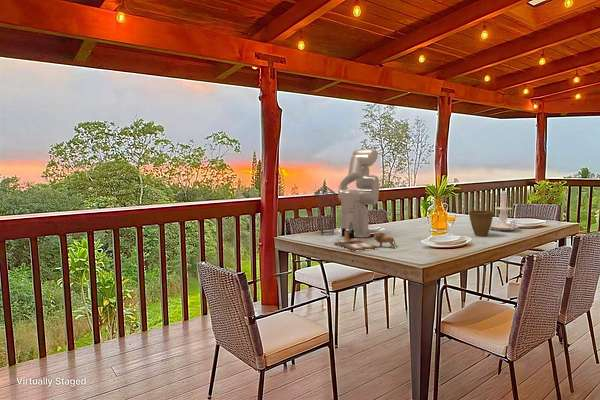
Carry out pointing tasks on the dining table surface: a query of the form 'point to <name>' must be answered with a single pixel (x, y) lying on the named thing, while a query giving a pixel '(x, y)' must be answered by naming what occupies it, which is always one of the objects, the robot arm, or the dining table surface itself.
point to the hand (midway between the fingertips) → (347, 237)
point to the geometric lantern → (325, 205)
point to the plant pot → (481, 222)
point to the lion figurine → (384, 239)
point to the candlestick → (504, 216)
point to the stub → (347, 237)
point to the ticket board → (356, 245)
